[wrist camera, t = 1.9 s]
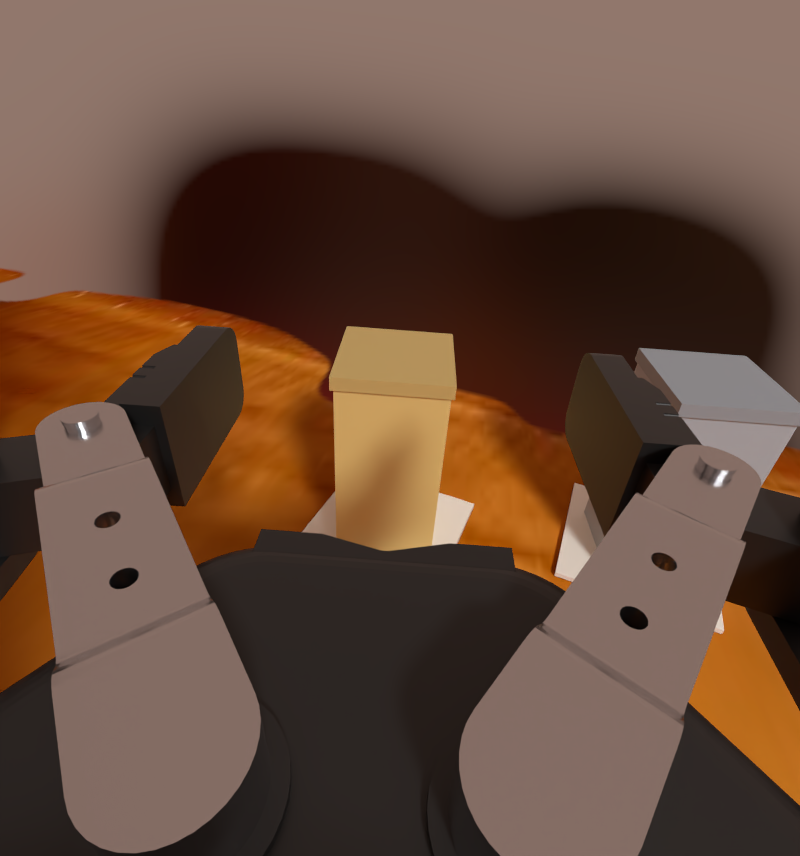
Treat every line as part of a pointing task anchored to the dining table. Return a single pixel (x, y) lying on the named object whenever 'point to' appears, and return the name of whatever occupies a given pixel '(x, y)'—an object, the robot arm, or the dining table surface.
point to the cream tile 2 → (582, 542)
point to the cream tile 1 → (446, 528)
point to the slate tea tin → (720, 406)
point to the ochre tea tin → (390, 434)
